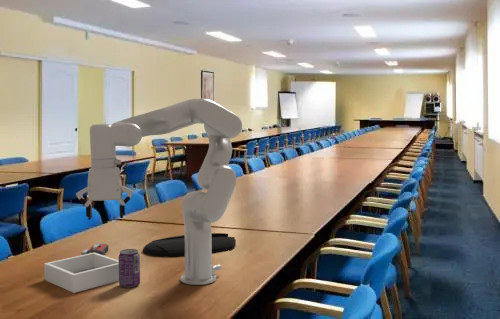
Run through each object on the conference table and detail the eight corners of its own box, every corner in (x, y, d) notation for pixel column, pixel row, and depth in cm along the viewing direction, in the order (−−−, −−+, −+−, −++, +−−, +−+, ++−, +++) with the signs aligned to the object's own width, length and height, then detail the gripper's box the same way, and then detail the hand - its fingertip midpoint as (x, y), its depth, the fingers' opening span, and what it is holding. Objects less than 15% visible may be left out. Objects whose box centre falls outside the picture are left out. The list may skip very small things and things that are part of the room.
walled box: (94, 267, 205) (94, 252, 204) (125, 278, 191) (124, 262, 191) (44, 279, 190) (44, 263, 190) (73, 292, 177) (73, 275, 176)
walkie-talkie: (89, 250, 232) (75, 263, 212) (89, 240, 232) (75, 252, 212) (109, 250, 232) (97, 263, 213) (109, 240, 232) (97, 252, 212)
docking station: (136, 247, 237) (136, 236, 237) (221, 238, 254) (221, 228, 254) (150, 261, 215) (150, 249, 214) (243, 250, 232) (243, 239, 231)
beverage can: (138, 281, 189) (138, 247, 188) (141, 287, 182) (140, 252, 181) (118, 283, 187) (117, 249, 186) (120, 289, 180) (119, 254, 179)
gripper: (133, 161, 171) (135, 214, 173) (77, 163, 169) (79, 216, 171) (131, 164, 164) (133, 219, 166) (72, 166, 161) (75, 222, 163)
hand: (106, 218), depth 168 cm, fingers open, 9 cm apart
